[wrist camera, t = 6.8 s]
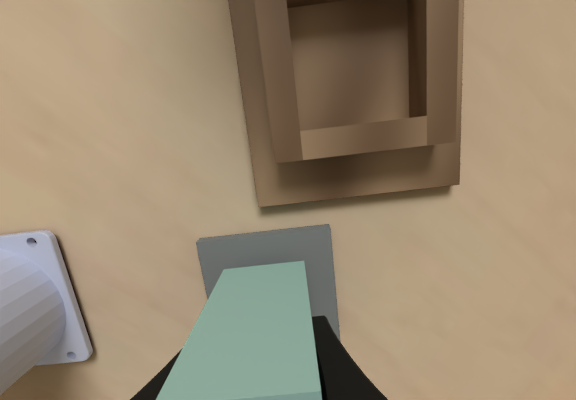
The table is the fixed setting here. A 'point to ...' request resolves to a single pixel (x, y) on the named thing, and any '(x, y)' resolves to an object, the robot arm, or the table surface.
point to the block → (250, 340)
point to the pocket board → (350, 95)
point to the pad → (278, 261)
